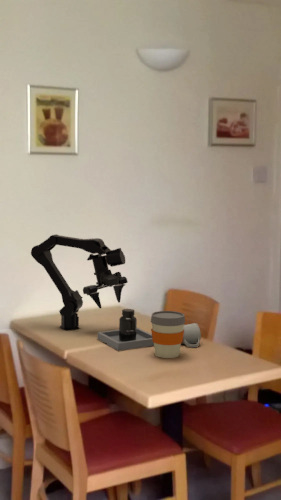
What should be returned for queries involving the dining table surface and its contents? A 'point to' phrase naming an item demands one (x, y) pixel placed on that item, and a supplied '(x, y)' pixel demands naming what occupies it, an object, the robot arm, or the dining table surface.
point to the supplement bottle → (127, 325)
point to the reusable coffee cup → (167, 333)
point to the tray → (113, 340)
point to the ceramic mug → (191, 335)
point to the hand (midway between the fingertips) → (109, 305)
